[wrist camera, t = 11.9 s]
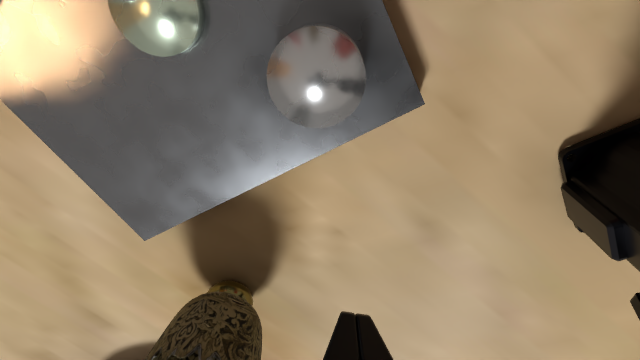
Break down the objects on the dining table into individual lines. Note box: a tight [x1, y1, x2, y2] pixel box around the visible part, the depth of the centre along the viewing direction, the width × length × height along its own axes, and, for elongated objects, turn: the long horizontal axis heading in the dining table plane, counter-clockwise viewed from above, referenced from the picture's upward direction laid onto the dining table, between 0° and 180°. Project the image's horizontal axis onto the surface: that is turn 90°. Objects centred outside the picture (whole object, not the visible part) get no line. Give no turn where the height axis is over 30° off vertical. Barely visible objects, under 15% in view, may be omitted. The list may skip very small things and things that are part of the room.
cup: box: [145, 280, 262, 360], centre depth 23 cm, size 8×7×8 cm
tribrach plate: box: [0, 0, 425, 241], centre depth 15 cm, size 20×20×4 cm
